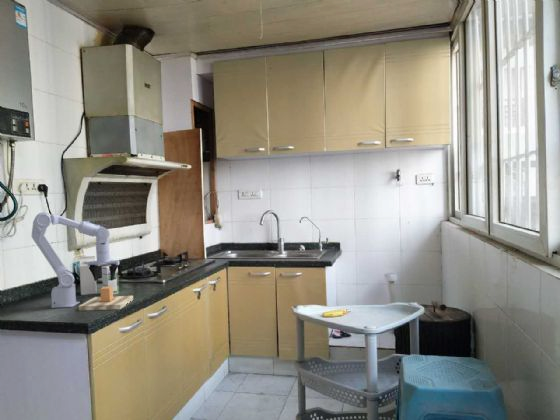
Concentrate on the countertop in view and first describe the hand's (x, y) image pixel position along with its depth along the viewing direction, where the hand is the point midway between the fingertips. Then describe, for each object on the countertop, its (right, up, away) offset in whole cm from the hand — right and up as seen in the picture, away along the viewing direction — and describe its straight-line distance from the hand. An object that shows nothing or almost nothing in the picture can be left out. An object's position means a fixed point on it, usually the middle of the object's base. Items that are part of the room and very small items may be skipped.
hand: (104, 280), depth 197 cm
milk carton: (-15, -10, +16) cm, 24 cm away
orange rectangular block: (+5, -10, -9) cm, 14 cm away
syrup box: (-2, -9, +12) cm, 15 cm away
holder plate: (+5, -10, -10) cm, 15 cm away
